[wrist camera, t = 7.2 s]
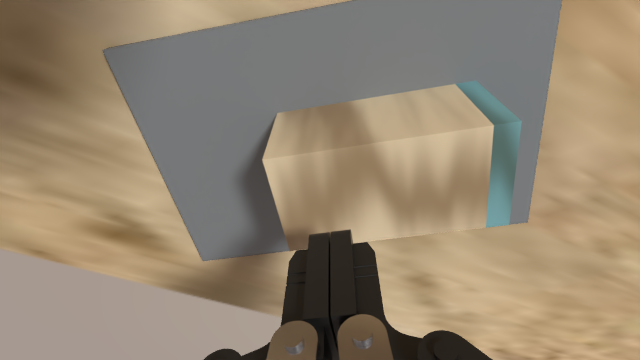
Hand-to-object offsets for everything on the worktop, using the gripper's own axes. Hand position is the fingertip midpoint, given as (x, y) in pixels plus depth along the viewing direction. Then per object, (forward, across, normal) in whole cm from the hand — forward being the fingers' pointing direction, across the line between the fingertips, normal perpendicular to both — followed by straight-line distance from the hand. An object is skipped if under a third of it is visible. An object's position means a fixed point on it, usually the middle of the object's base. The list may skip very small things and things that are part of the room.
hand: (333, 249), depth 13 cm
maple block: (+6, +2, 0) cm, 6 cm away
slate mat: (+8, 0, 0) cm, 9 cm away
